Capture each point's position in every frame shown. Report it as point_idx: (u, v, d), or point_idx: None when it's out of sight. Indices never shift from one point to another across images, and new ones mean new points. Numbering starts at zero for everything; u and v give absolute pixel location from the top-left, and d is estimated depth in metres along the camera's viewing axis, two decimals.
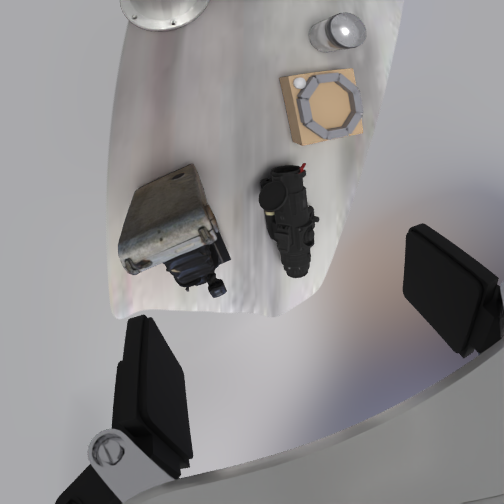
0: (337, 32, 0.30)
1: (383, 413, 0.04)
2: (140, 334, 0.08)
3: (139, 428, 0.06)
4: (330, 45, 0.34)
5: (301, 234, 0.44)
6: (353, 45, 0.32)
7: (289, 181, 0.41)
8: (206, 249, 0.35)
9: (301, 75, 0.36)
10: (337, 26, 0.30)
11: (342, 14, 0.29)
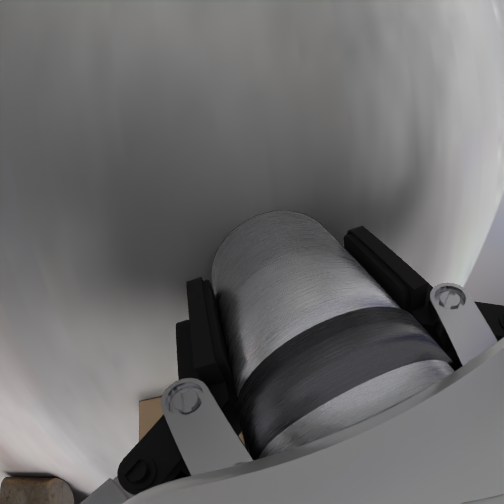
0: None
1: (383, 413, 0.04)
2: (202, 293, 0.09)
3: (214, 375, 0.07)
4: None
5: None
6: None
7: None
8: None
9: None
10: None
11: None
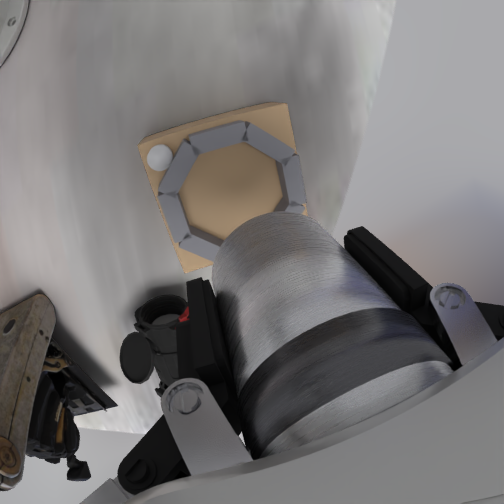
0: None
1: (383, 413, 0.04)
2: (202, 293, 0.09)
3: (214, 375, 0.07)
4: None
5: None
6: None
7: (161, 338, 0.23)
8: (44, 446, 0.17)
9: (165, 138, 0.18)
10: None
11: None
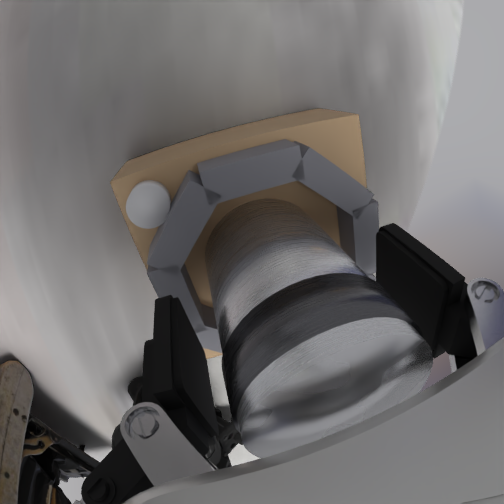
0: (268, 447, 0.06)
1: (383, 413, 0.04)
2: (169, 312, 0.09)
3: (173, 400, 0.07)
4: None
5: None
6: None
7: None
8: None
9: (157, 169, 0.11)
10: (271, 430, 0.06)
11: (316, 370, 0.05)
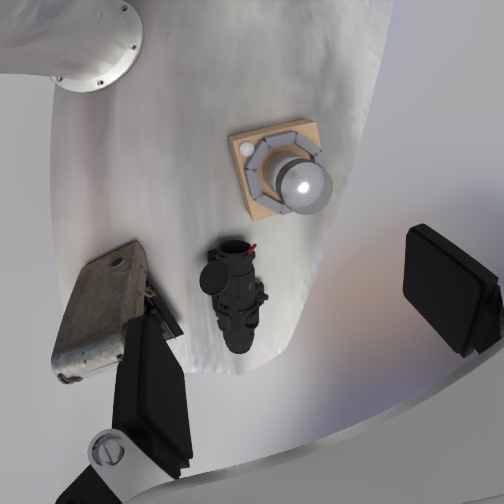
0: (289, 199, 0.29)
1: (383, 413, 0.04)
2: (140, 334, 0.08)
3: (139, 428, 0.06)
4: None
5: (243, 318, 0.41)
6: (312, 211, 0.30)
7: (234, 264, 0.38)
8: None
9: (249, 138, 0.33)
10: (289, 190, 0.28)
11: (297, 169, 0.27)
